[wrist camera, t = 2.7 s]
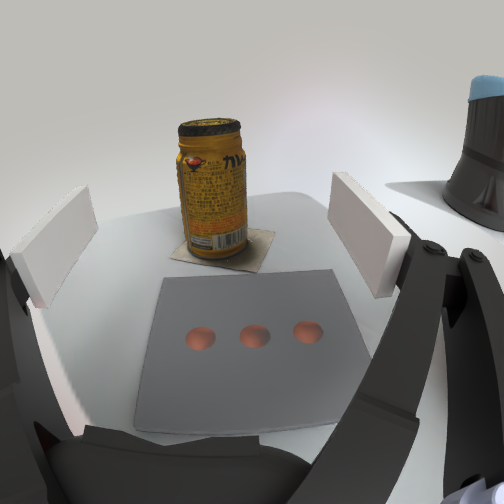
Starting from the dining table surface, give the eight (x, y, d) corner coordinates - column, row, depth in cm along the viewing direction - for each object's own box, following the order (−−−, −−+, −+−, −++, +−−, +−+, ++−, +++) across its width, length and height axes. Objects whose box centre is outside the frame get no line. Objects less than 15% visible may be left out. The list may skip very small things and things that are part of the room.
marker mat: (330, 274, 24) (331, 269, 24) (385, 411, 13) (388, 406, 13) (165, 283, 24) (163, 277, 23) (136, 430, 13) (133, 426, 12)
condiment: (201, 223, 32) (192, 116, 26) (275, 233, 30) (278, 117, 24) (169, 260, 27) (149, 131, 20) (257, 275, 24) (256, 129, 18)
